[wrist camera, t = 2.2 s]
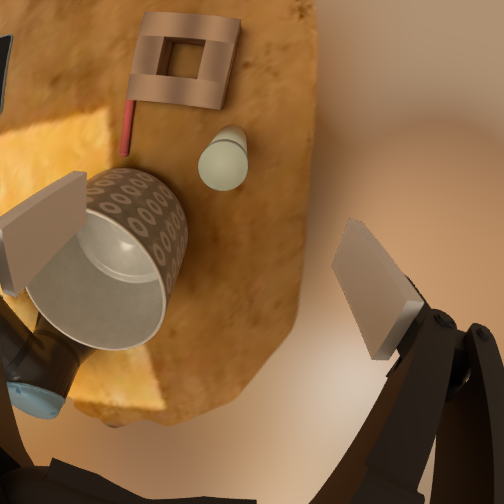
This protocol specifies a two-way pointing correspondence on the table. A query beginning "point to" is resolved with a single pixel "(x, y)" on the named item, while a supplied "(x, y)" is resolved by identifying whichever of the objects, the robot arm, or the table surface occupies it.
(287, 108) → the table surface
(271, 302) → the table surface
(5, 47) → the smartphone
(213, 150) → the banded green cylinder
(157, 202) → the planter
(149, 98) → the square wooden socket block
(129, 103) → the red rod
